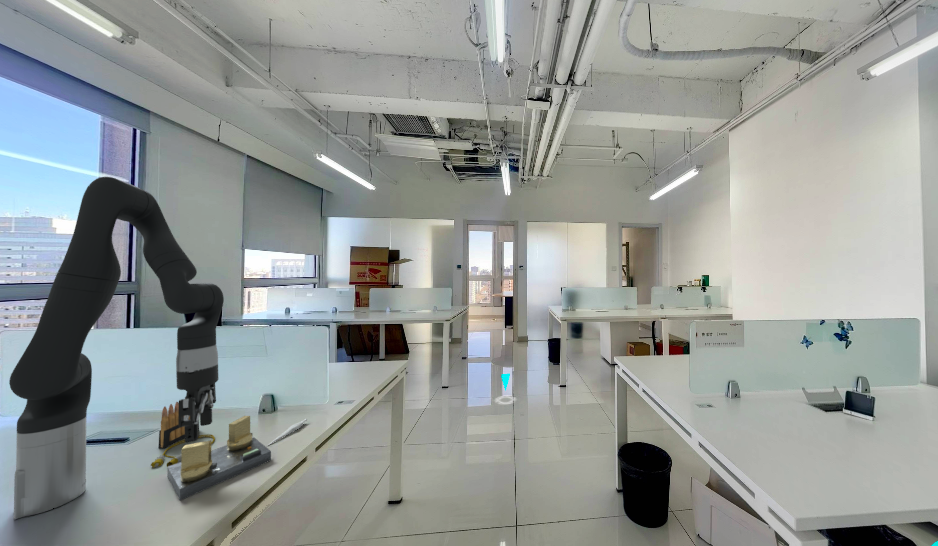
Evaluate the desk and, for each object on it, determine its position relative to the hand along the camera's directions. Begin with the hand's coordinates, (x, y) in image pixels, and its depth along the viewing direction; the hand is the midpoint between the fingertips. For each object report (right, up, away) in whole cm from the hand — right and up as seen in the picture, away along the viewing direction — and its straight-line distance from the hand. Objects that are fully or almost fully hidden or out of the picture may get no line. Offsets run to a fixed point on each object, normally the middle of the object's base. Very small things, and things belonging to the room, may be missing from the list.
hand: (199, 432), depth 72 cm
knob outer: (+1, -10, +12) cm, 16 cm away
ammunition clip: (-25, -14, +21) cm, 36 cm away
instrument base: (+1, -12, +6) cm, 14 cm away
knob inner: (0, -10, -1) cm, 10 cm away
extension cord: (-18, -14, +14) cm, 26 cm away
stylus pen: (+8, -13, +23) cm, 28 cm away
